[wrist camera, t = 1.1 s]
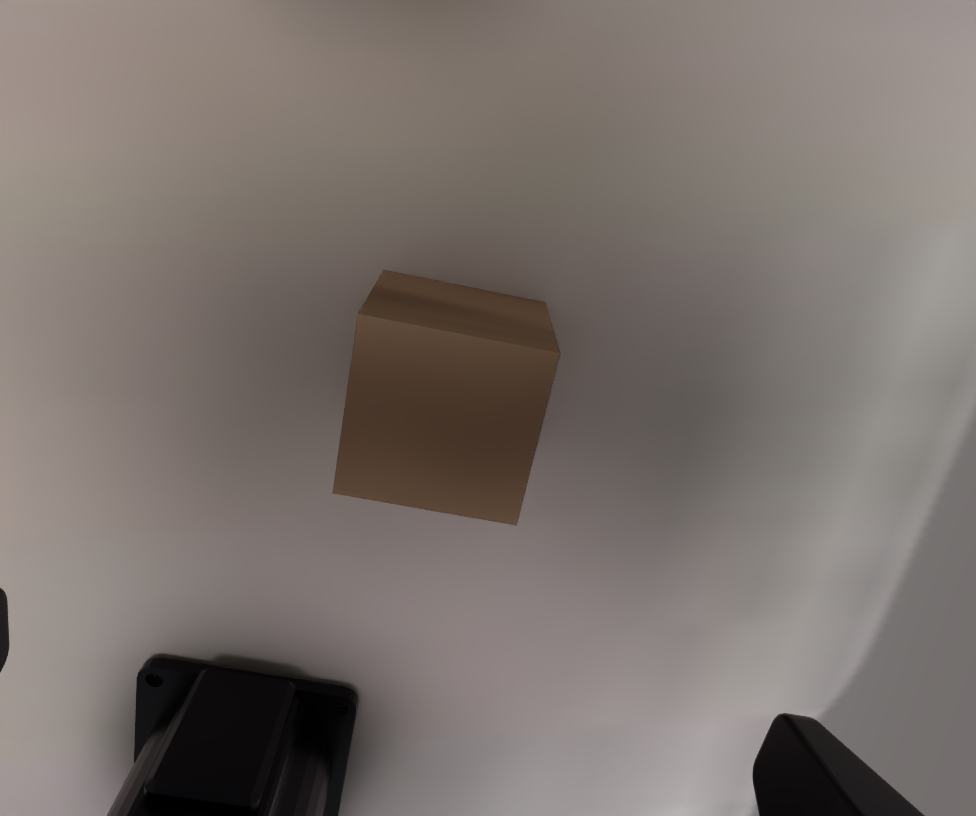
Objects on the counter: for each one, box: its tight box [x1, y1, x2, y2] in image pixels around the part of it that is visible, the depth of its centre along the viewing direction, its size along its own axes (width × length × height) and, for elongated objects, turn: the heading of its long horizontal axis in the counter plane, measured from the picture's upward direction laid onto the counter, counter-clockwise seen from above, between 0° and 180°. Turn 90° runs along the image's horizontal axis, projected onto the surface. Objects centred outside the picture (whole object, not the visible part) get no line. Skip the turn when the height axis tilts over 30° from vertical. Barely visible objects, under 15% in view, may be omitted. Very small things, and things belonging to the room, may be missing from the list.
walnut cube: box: [333, 270, 560, 525], centre depth 17 cm, size 4×4×4 cm
